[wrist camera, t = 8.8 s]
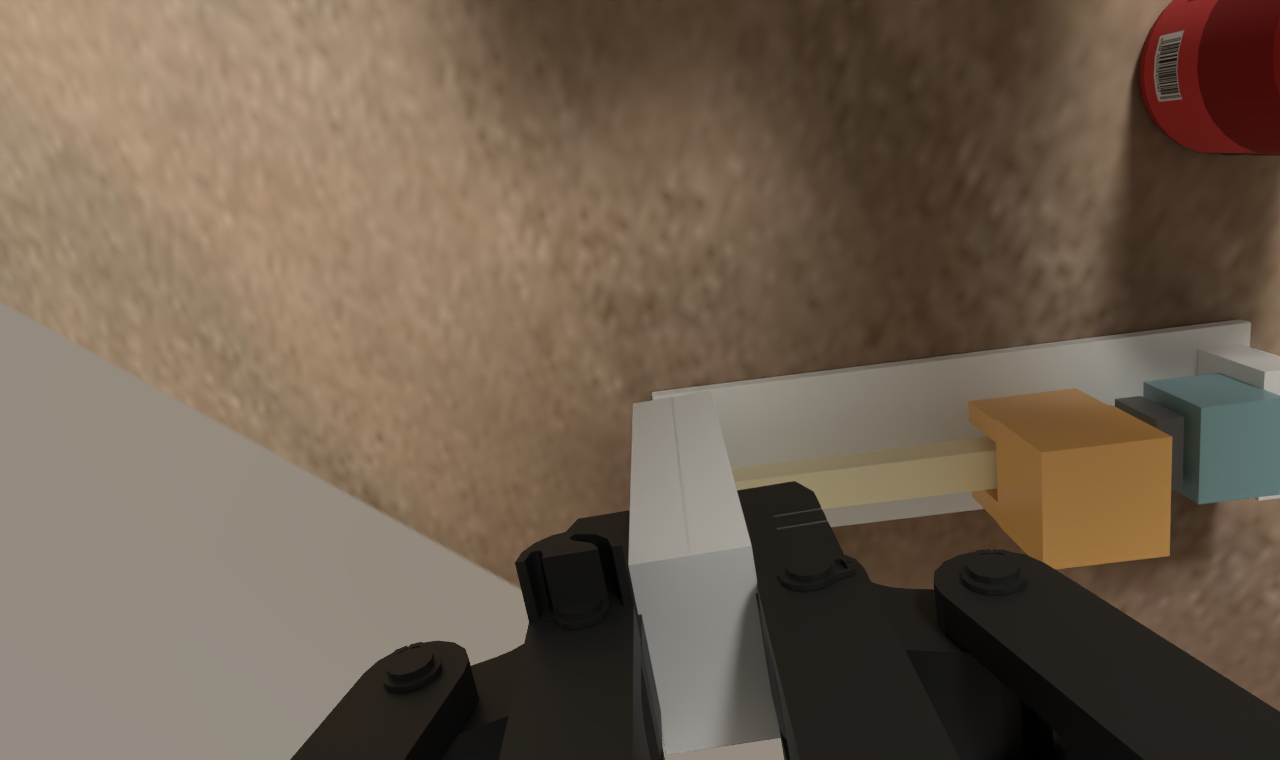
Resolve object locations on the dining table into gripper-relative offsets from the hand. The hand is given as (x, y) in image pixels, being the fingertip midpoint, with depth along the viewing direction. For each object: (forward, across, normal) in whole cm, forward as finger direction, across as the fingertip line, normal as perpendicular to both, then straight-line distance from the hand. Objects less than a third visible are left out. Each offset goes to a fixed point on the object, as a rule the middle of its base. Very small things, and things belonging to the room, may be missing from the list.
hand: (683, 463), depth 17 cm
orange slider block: (+24, +16, -11) cm, 31 cm away
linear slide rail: (+27, +13, -11) cm, 31 cm away
